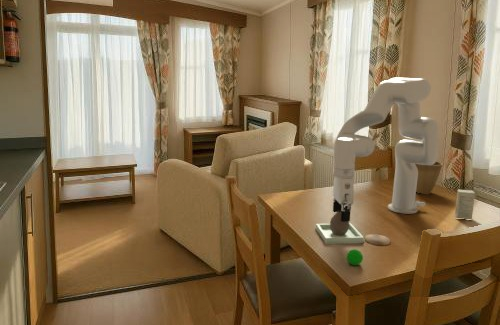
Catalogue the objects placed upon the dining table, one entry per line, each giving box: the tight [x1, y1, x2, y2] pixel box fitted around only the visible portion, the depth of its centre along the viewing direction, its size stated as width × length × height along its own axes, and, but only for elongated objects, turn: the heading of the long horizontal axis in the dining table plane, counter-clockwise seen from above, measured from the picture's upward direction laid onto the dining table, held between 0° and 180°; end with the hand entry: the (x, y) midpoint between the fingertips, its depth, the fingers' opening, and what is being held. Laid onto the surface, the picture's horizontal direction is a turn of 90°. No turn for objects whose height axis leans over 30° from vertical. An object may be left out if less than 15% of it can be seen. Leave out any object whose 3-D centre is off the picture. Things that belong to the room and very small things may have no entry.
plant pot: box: [415, 161, 443, 195], centre depth 211 cm, size 15×15×16 cm
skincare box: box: [454, 189, 476, 220], centre depth 174 cm, size 6×4×12 cm
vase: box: [329, 211, 350, 236], centre depth 154 cm, size 7×7×9 cm
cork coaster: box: [364, 233, 391, 247], centre depth 151 cm, size 9×9×1 cm
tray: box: [315, 222, 365, 245], centre depth 154 cm, size 14×14×2 cm
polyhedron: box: [346, 248, 364, 266], centre depth 131 cm, size 5×5×5 cm
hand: (341, 216), depth 153 cm, fingers open, 9 cm apart
